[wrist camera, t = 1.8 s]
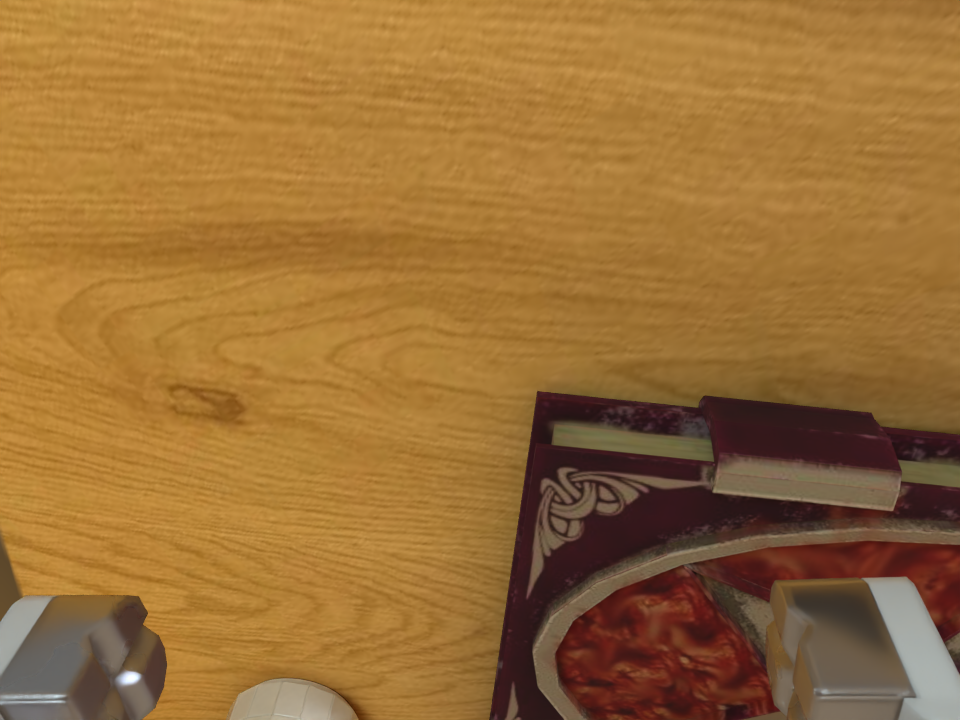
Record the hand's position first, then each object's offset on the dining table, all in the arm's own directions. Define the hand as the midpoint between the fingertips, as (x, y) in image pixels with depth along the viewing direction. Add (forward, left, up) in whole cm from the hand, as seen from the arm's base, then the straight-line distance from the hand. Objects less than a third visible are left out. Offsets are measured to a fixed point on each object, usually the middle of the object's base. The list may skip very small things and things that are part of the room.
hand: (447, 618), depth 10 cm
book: (+17, -17, -17) cm, 29 cm away
